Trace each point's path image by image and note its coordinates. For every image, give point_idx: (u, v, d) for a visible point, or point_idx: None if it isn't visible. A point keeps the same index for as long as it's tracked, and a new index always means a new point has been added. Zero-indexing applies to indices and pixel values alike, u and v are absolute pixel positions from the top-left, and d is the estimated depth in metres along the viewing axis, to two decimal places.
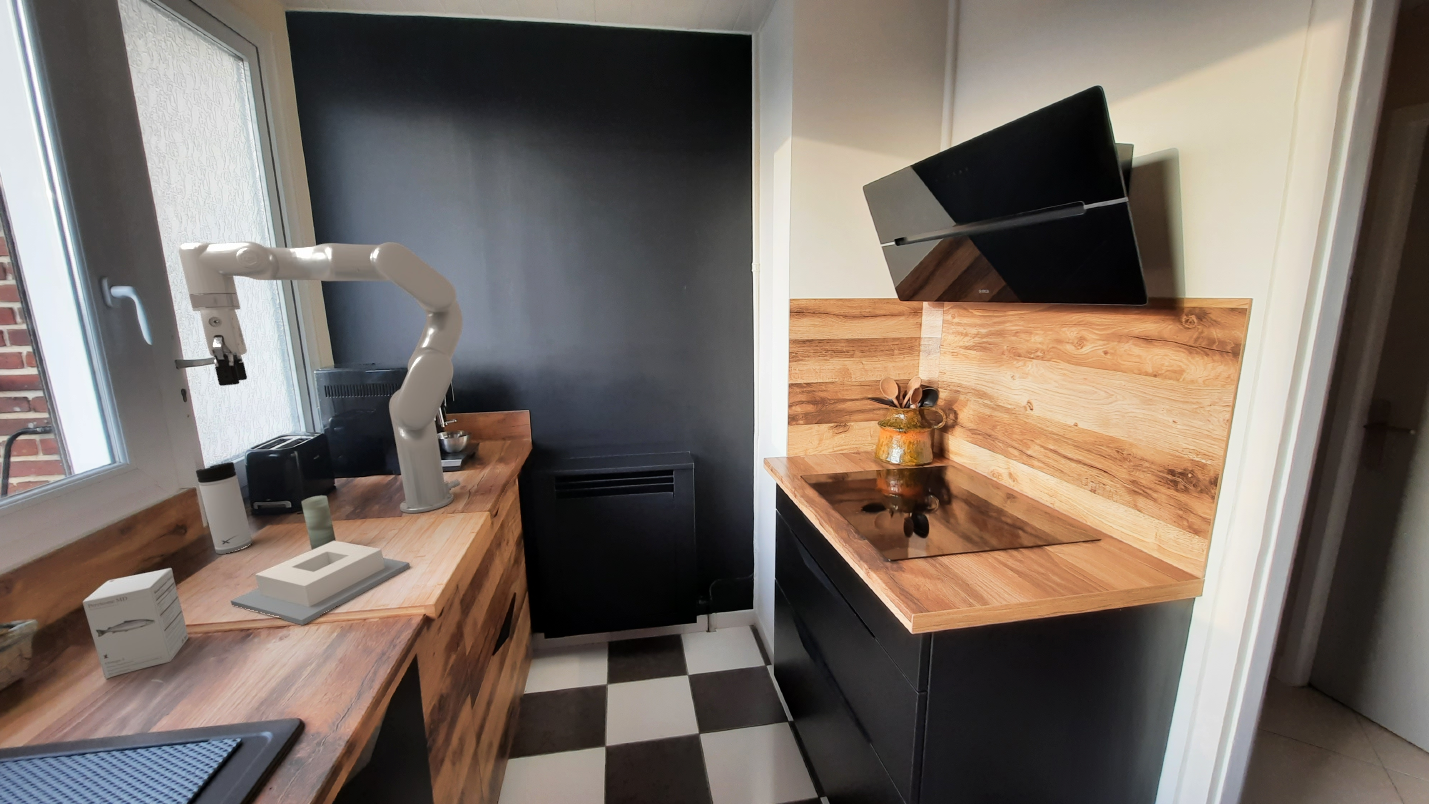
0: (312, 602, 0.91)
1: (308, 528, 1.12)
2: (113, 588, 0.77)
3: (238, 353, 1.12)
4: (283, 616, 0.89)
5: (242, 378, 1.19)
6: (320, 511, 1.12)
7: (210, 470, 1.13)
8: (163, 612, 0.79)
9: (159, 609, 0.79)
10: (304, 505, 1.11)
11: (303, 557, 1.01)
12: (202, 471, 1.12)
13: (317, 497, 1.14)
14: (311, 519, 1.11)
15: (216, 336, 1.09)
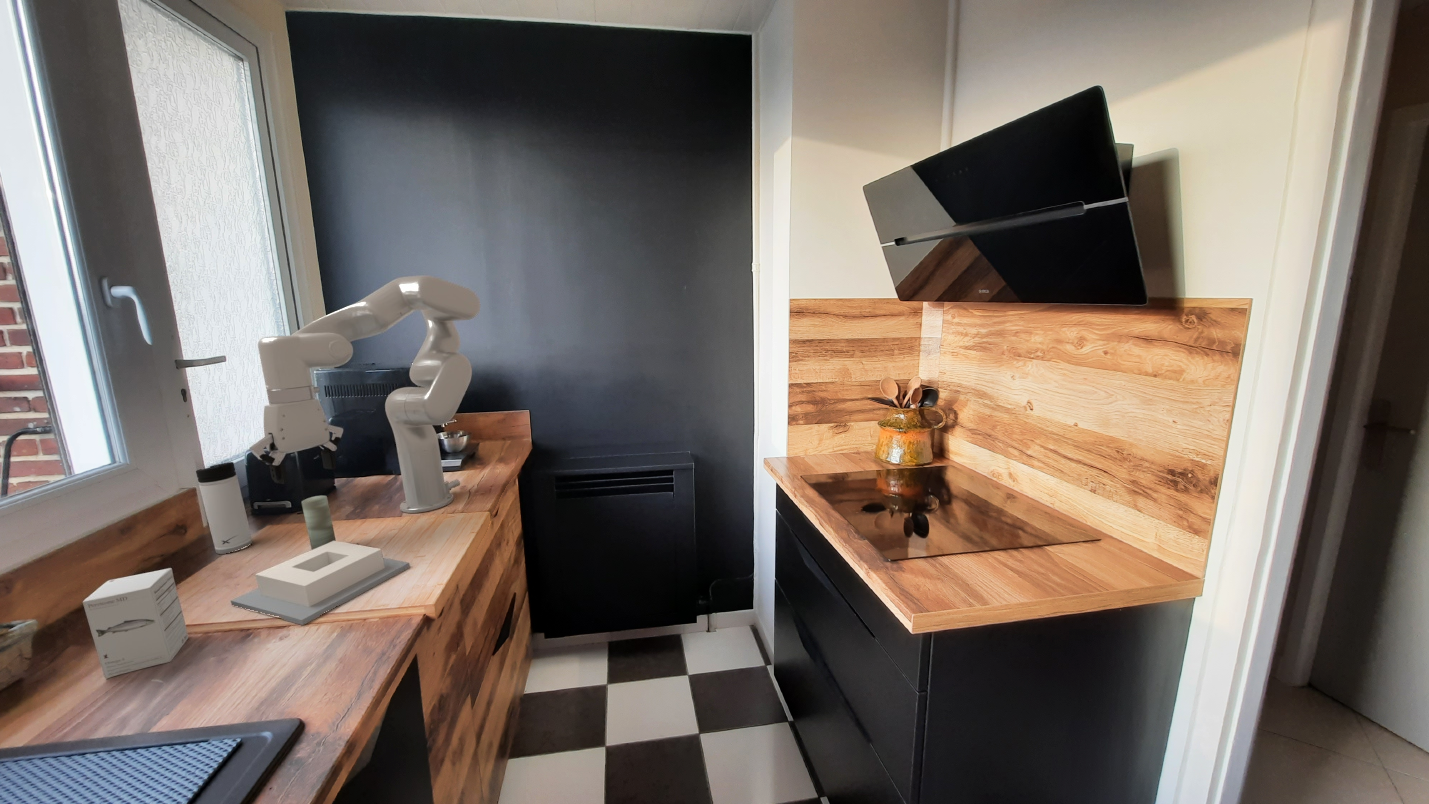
0: (312, 602, 0.91)
1: (308, 528, 1.12)
2: (113, 588, 0.77)
3: None
4: (283, 616, 0.89)
5: None
6: (320, 511, 1.12)
7: (210, 470, 1.13)
8: (163, 612, 0.79)
9: (159, 608, 0.79)
10: (304, 505, 1.11)
11: (303, 557, 1.01)
12: (202, 471, 1.12)
13: (317, 497, 1.14)
14: (311, 519, 1.11)
15: None
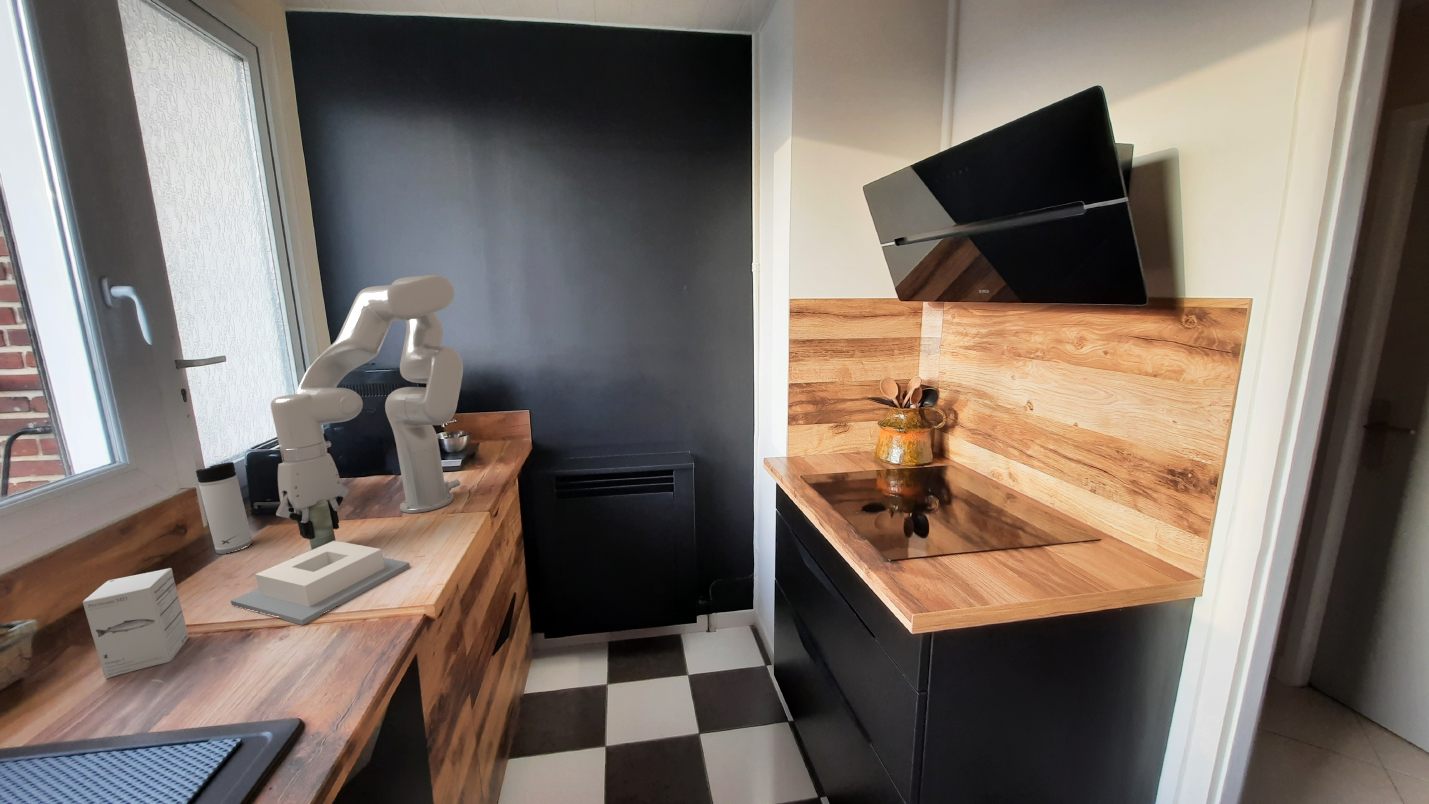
0: (312, 602, 0.91)
1: None
2: (113, 588, 0.77)
3: None
4: (283, 616, 0.89)
5: None
6: (320, 511, 1.12)
7: (210, 470, 1.13)
8: (163, 612, 0.79)
9: (159, 608, 0.79)
10: None
11: (303, 557, 1.01)
12: (202, 471, 1.12)
13: None
14: (311, 519, 1.11)
15: None
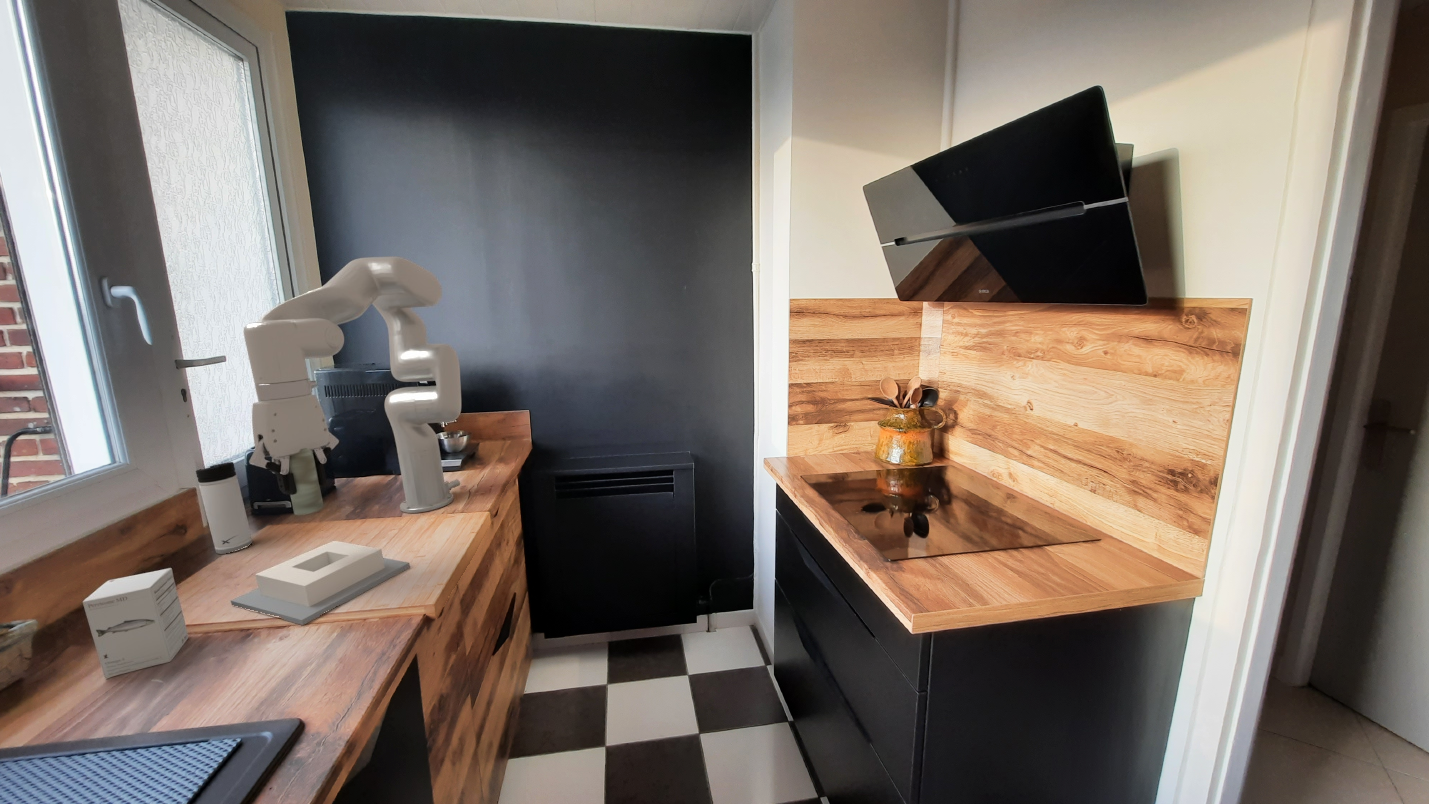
0: (312, 602, 0.91)
1: None
2: (113, 588, 0.77)
3: None
4: (283, 616, 0.89)
5: None
6: (303, 461, 0.94)
7: (210, 470, 1.13)
8: (163, 612, 0.79)
9: (159, 608, 0.79)
10: None
11: (303, 557, 1.01)
12: (202, 471, 1.12)
13: None
14: (292, 470, 0.94)
15: None
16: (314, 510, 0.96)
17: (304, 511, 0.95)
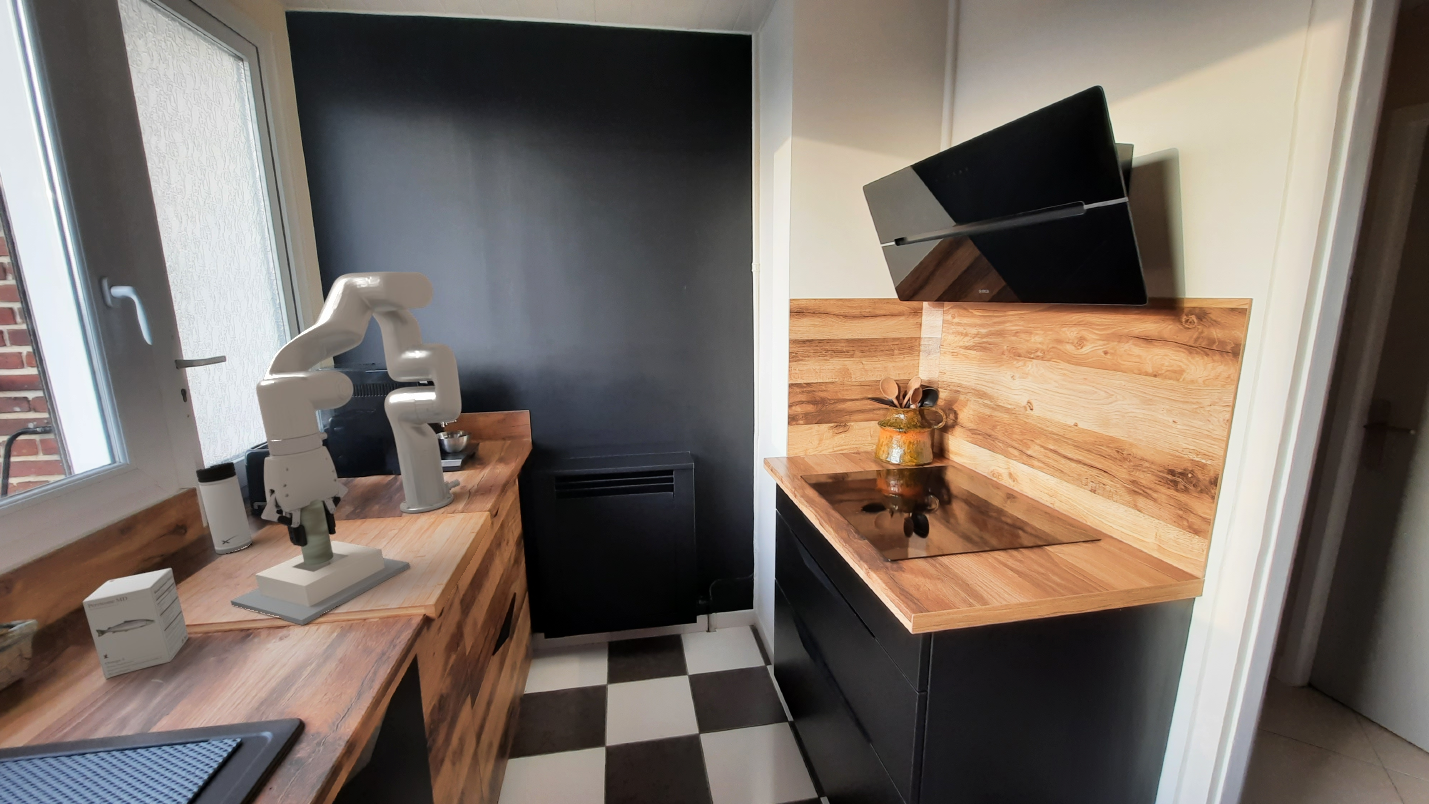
0: (312, 602, 0.91)
1: None
2: (113, 588, 0.77)
3: None
4: (283, 616, 0.89)
5: None
6: (313, 513, 0.96)
7: (210, 470, 1.13)
8: (163, 612, 0.79)
9: (159, 608, 0.79)
10: None
11: None
12: (202, 471, 1.12)
13: None
14: (303, 522, 0.95)
15: None
16: (324, 560, 0.98)
17: (314, 562, 0.97)
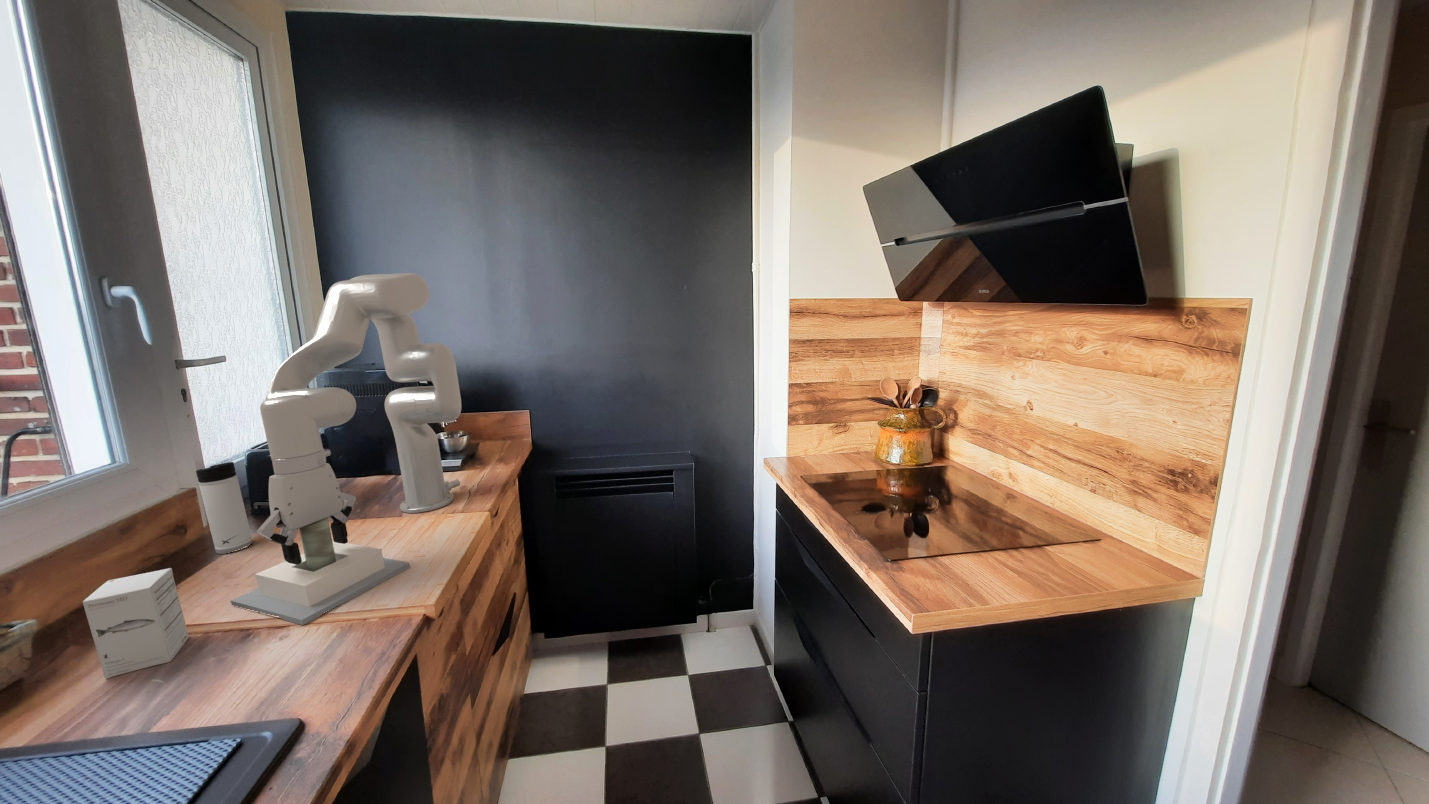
0: (312, 602, 0.91)
1: (306, 555, 0.97)
2: (113, 588, 0.77)
3: None
4: (283, 616, 0.89)
5: None
6: (320, 535, 0.97)
7: (210, 470, 1.13)
8: (163, 612, 0.79)
9: (159, 608, 0.79)
10: (301, 528, 0.96)
11: (303, 557, 1.01)
12: (202, 471, 1.12)
13: None
14: (310, 544, 0.96)
15: None
16: None
17: None
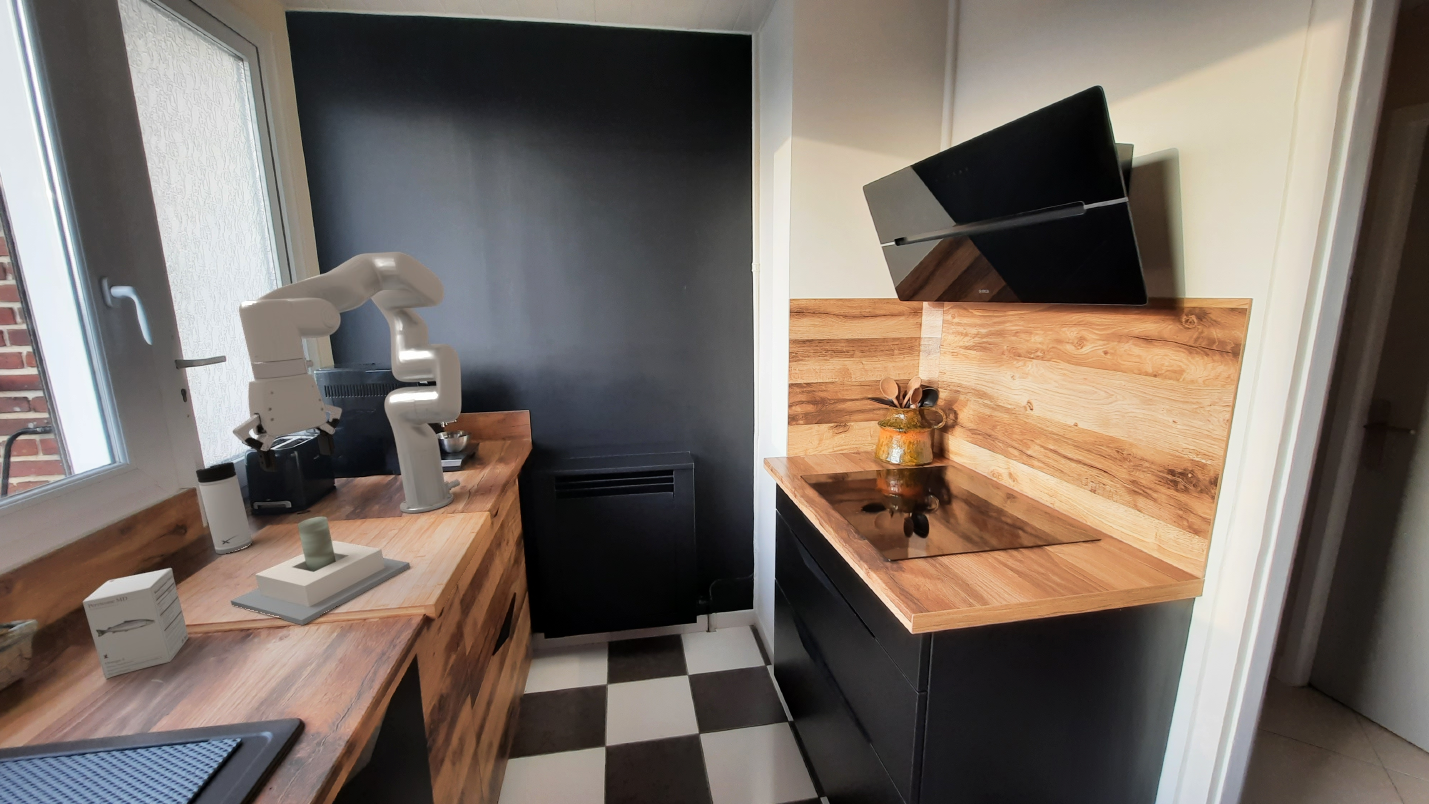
0: (312, 602, 0.91)
1: (305, 555, 0.97)
2: (113, 588, 0.77)
3: None
4: (283, 616, 0.89)
5: None
6: (319, 535, 0.97)
7: (210, 470, 1.13)
8: (163, 612, 0.79)
9: (159, 608, 0.79)
10: (300, 529, 0.96)
11: (303, 557, 1.01)
12: (202, 471, 1.12)
13: (316, 519, 0.99)
14: (309, 544, 0.96)
15: None
16: None
17: None
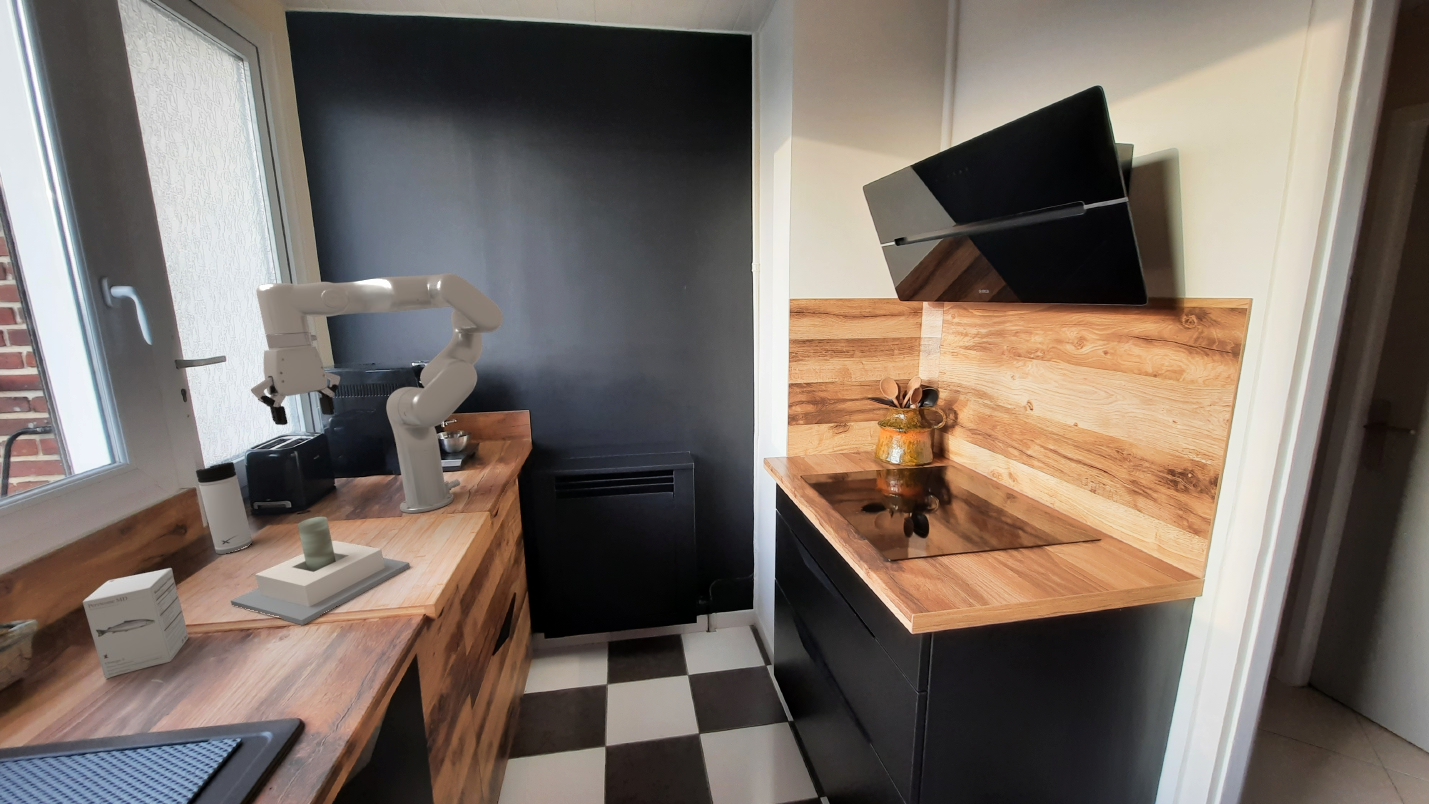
0: (312, 602, 0.91)
1: (305, 555, 0.97)
2: (113, 588, 0.77)
3: None
4: (283, 616, 0.89)
5: None
6: (319, 535, 0.97)
7: (210, 470, 1.13)
8: (163, 612, 0.79)
9: (159, 608, 0.79)
10: (300, 529, 0.96)
11: (303, 557, 1.01)
12: (202, 471, 1.12)
13: (316, 519, 0.99)
14: (309, 544, 0.96)
15: None
16: None
17: None
